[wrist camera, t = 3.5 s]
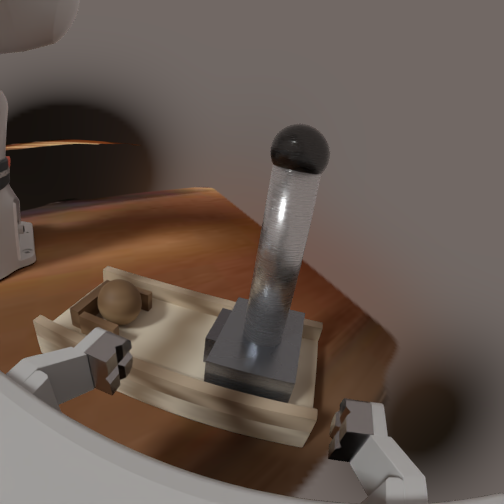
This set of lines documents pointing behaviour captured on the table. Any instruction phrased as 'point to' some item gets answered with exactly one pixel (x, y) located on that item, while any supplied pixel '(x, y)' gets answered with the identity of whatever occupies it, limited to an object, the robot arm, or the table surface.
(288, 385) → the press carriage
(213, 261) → the table surface
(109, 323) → the press base
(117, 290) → the walnut
